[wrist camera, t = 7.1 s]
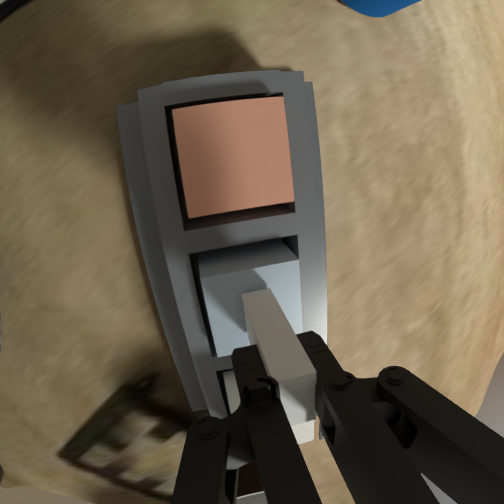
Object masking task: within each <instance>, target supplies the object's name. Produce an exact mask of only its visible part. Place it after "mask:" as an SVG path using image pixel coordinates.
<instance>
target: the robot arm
mask: <svg viewBox="0 0 504 504" xmlns="http://www.w3.org/2000/svg"><path fill="white" fill-rule="evenodd" d="M241 295H242V302H243V308H244V315H245V321H246V328H247V334H248V339H249V342H250V346H245V347H240V348H235V349H234V350H233V352H232V355H231V360H232V365H233V370H234V374H235V379H236V383H237V388H238V392H239V396H240V405H239V407H238V408H237V410H236V411H235V412H233V413H232V414H230V415H229V416H227V417H225V418H223V419H220V418H218V417H213V416H207V417H202V418H199V419H197V420H195V421H194V422H193V423H192V424H191V425H190V427H189V429H188V432H187V436H186V441H185V445H184V449H183V453H182V458H181V462H180V466H179V470H178V475H177V479H176V483H175V488H174V492H173V496H172V501H171V504H236V500H237V489H238V478H239V467H241V466H243V465H245V464H247V463H249V462H251V461H253V460H256V464H257V468H258V471H259V475H260V478H261V482H262V486H263V489H264V493H265V496H266V500H267V503H268V504H322V502H321V500H320V497H319V495H318V492H317V490H316V488H315V485H314V483H313V480H312V478H311V475H310V473H309V470H308V468H307V465H306V463H305V460H304V458H303V456H302V453H301V451H300V448H299V445H298V443H297V440H296V438H295V435H294V433H293V430H292V428H291V426H293V425H297V424H301V423H304V422H308V421H311V420H315V419H316V413H317V415H318V417H319V419H320V424H319V439H320V440H321V439H322V437H323V436H324V438H325V441H326V443H327V445H328V447H329V449H330V451H331V453H332V455H333V457H334V460H335V462H336V464H337V466H338V468H339V470H340V472H341V474H342V476H343V478H344V481H345V483H346V485H347V487H348V489H349V491H350V493H351V495H352V497H353V499H354V501H355V503H356V504H440V503H439V502H438V501H437V499H436V497H435V496H434V494H433V493H432V491H431V490H430V488H429V486H428V485H427V483H426V482H425V480H424V479H423V477H422V476H421V474H420V473H419V471H420V472H421V473H423V474H424V475H425V476H426V477H427V478H428V479H429V480H431V481H432V482H433V483H434V484H435V485H436V486H437V487H439V488H440V489H441V490H442V491H443V492H444V493H446V494H447V495H448V496H449V497H450V498H452V499H453V500H454V501H455V502H456V503H457V504H504V438H503V437H501V436H500V435H499V434H497V433H496V432H494V431H493V430H492V429H490V428H488V427H487V426H486V425H485V424H483V423H482V422H480V421H479V420H477V419H476V418H475V417H473V416H472V415H470V414H469V413H467V412H466V411H465V410H463V409H462V408H460V407H459V406H458V405H456V404H455V403H453V402H452V401H451V400H449V399H448V398H446V397H445V396H443V395H442V394H441V393H439V392H438V391H436V390H435V389H434V388H432V387H431V386H429V385H428V384H427V383H425V382H424V381H422V380H421V379H419V378H418V377H417V376H415V375H414V374H412V373H411V372H410V371H408V370H407V369H405V368H403V367H399V366H389V367H387V368H384V369H383V370H382V371H381V372H380V373H379V376H378V377H376V378H356V377H355V376H354V375H352V374H351V373H349V372H346V371H344V370H343V369H342V368H341V366H340V365H339V363H338V361H337V360H336V358H335V357H334V355H333V354H332V352H331V351H330V350H329V348H328V346H327V345H326V344H325V342H324V340H323V339H322V337H321V336H320V335H318V334H317V333H315V332H314V331H308V332H304V333H299V334H295V332H294V330H293V329H292V327H291V325H290V323H289V321H288V320H287V318H286V316H285V314H284V312H283V311H282V309H281V307H280V305H279V303H278V302H277V300H276V298H275V296H274V294H273V293H272V291H271V289H270V288H268V289H263V290H258V291H253V292H248V293H242V294H241ZM417 469H418V470H419V471H418V470H417ZM3 474H4V473H3V469H2V467H1V466H0V483H1V481H2V477H3Z"/></svg>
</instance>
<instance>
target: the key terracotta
mask: <svg viewBox="0 0 504 504" xmlns="http://www.w3.org/2000/svg"><path fill="white" fill-rule="evenodd" d="M172 113H173V121H174V128H175V135H176V142H177V149H178V156H179V163H180V169H181V175H182V182H183V188H184V194H185V200H186V206H187V211H188V217H189V218H195V217H200V216H206V215H212V214H217V213H223V212H229V211H235V210H241V209H247V208H254V207H260V206H266V205H273V204H279V203H286V202H293V201H294V189H293V179H292V168H291V158H290V149H289V139H288V130H287V122H286V113H285V105H284V97H269V98H256V99H245V100H235V101H226V102H218V103H210V104H203V105H196V106H190V107H184V108H178V109H172Z"/></svg>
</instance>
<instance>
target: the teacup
mask: <svg viewBox="0 0 504 504" xmlns="http://www.w3.org/2000/svg"><path fill="white" fill-rule="evenodd" d="M1 340H2V324H1V314H0V350H1Z"/></svg>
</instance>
